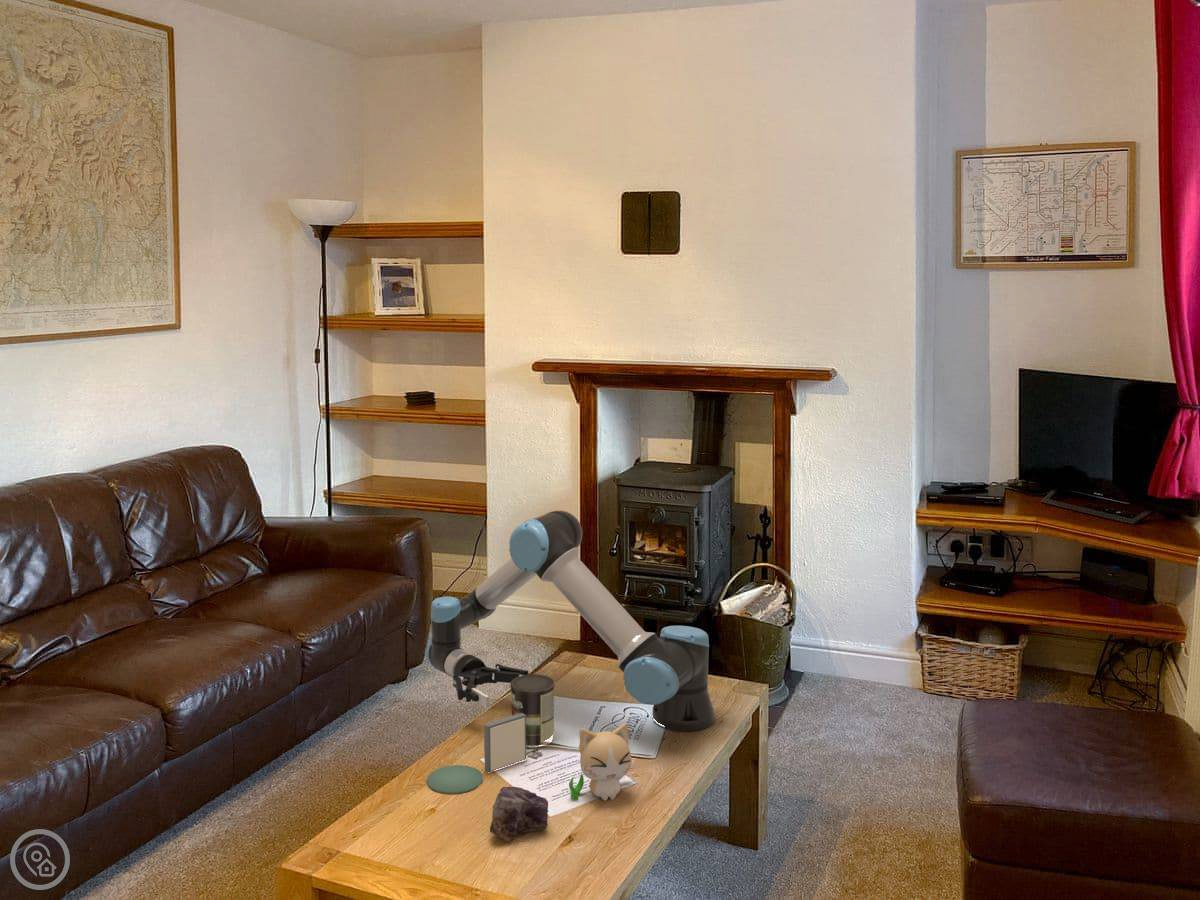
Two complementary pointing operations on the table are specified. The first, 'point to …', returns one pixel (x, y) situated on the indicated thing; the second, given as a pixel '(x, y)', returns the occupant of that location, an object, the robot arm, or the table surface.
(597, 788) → the kitten
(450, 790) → the coaster
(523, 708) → the coffee can
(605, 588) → the robot arm
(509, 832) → the rock
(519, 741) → the slate tile
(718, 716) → the table surface
